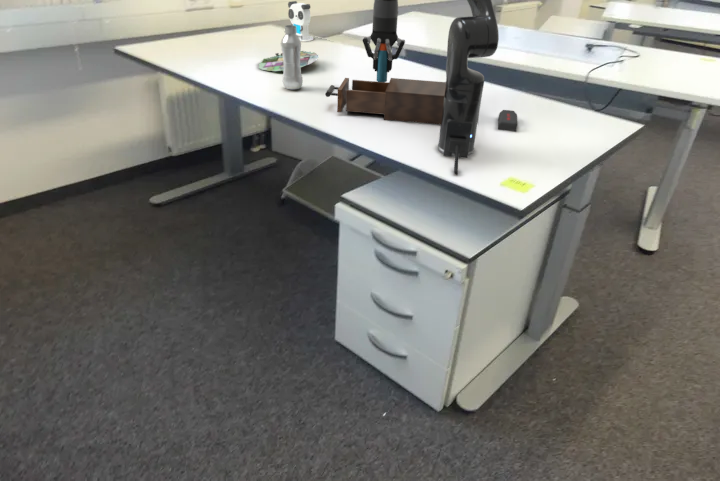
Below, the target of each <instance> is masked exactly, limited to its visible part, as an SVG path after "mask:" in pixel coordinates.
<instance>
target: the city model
mask: <svg viewBox="0 0 720 481" xmlns="http://www.w3.org/2000/svg"><path fill="white" fill-rule="evenodd" d="M318 59H319V54H318V53H317V52H316V51H305V50H301V52H300V68H301V69H302V68H303V67H306V66H308V65H312V64H313V63H314V62H317V60H318ZM283 61H284V60H283V54H282V52H281V53H279V52H277V53H275V55H273V56H270V57H266V58H265V57H264V58H263V59H262V60H261V62H260V63H258V70H261V71H266V72H270V71H272V72H281V71H282V72H283V71H284V63H283Z"/></svg>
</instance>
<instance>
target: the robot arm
mask: <svg viewBox="0 0 720 481" xmlns="http://www.w3.org/2000/svg"><path fill="white" fill-rule="evenodd" d="M466 1H467V4H468V6H469V8H470V12H471V16H469V15H468V16H458V17H456V18H454V19H453V20H452V22H451V23H450V26H449V29H448V30H449V31H448V36H447V47H446V49H447V50H446V60H445V61H446V63H445V77H446V78H445V82H446V86H445V95H444V102H443V111H442V119H441V125H440V128H439V138H438V144H437V151H439V153H441V154H442V155H443V156H444V157H453V158H454V165H453V174H454V175H458V173H459V169H458V168H459V159H460V158H463V159H468V157H470V156H472V155H473V154H474V151H475V142H476V135H477V129H478V123H479V116H480V110H481V104H482V97H483V91H484V85H485V76H484V74H483V73H481V72H480V71H477V70H475V69H472V68H469V66H468V64H469V63H468V60H469V59H479V58H480V59H481V58H488V57H492V56H493V55H494V54H495V53H496V52H497V49H498V46H499V37H500V36H499V35H500V34H499V26H498V21H497V17H496V12H495V9H494V5H493V1H492V0H466ZM398 16H399V0H373V10H372V32H371V33H370V35H369V36H364V37H363V38H362V43H363V46H364V49H365V52H366V55H367V57H368V58H370V59H372V70H374V72H377V61H378V52H379V48H380V44H381V43H383V44H386V48H387V54H388V61H387V73H390V72H391V71H392V69H393V60H398V58H399V56H400V55H401V52H402V50H403V48H404V46H405V43H406V40H405V39H401V38H400V37H399V36H398V34H397V32H398ZM371 41H372V43H373V45H374V46H375V48H374V52H373V51H372V48H371V45H370V44H371ZM396 42H397V43H396ZM395 43H396V45H397V49H396V52H395V53H393V46H394V44H395Z"/></svg>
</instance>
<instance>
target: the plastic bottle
mask: <svg viewBox="0 0 720 481" xmlns="http://www.w3.org/2000/svg"><path fill="white" fill-rule="evenodd" d="M283 32H284V33H285V34H284V35H283V37H282V38H281V41H280V48H281V53H282V54H283V60H284V61H283V63H284V70H283V71H282V72H283V74H282V85H283V87H284V89H287V90H299V89H301V88H302V86H303V81H304V80H303V75H302V67H301V68H300V52H301V51H302V42H301V41H300V39H299V38H298V36H297V35H296V33H297V31H296V26H294V25H291V24H288V25H287V24H286V25H284V30H283Z"/></svg>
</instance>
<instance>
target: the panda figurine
mask: <svg viewBox="0 0 720 481" xmlns="http://www.w3.org/2000/svg"><path fill="white" fill-rule="evenodd" d="M287 5H288V6H287V8H289V9H288V12H287V14H288V16H287V17H288V18H289V21H290V23H291V24H290V25H294V26H296V31H297V33H296V35H297V36H298V38H299V39H300V41H301V43H306V42H312V41H314V37H313V36H311V35H309V34H310V33H309V25H310V24H311V20H312V19H311V18H312V17H311V4H310V3H305V2H298V1H297V0H292V1H288V3H287Z"/></svg>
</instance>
